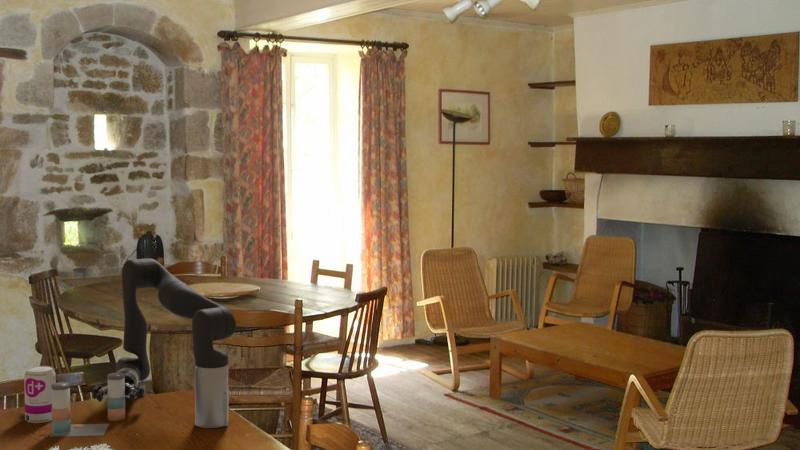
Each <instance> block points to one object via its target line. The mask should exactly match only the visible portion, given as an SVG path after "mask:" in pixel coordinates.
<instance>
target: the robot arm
mask: <svg viewBox="0 0 800 450" xmlns="http://www.w3.org/2000/svg"><path fill="white" fill-rule="evenodd" d="M121 287H122V288H121V289H122V290H121V291H122V300H123V302H122V303H123V311H124V329H123V343H122V347H123V350H124V351H126V352H127V353H129V354H133V355H135V356H136V357H127V356H126V357H121V358H119V359H118V360H117V362H116V364H115V373H124V374H125V399H129V402H133V401H134V400H136V398H138V397H139V398H144V397H145V394H146V384H145V383H140V381H142V382H143V381H145V380H147V379H148V378H149V376H150V372H151V366H150V362H149V357H148V353H147V338H148V337H147V336H148V323H147V320H146V318H145V316H144V314H143V312H142V310H141V308H140V306H139V304H138V301H137V290H138V289H148V288H149V289H150V288H152V289H153V288H154V289H156V290H158V291H157V292H158V293H157V296H158V297H157V298H158V301H159V303H160V304H161V306H162V307H164V308H165V309H166V310H167V311H169V312H171V313H172V314H174V315H175V316H177V317H180V318H185V319H189V320H192V322H191V330H192V331H191V333H192V351H193V352H192V353H193V357H194V424H195V426H196V427H199V428H202V429H217V428H221V427H228V425H229V396H230V395H229V394H230V393H229V391H230V389H229V356H228V354H227V353H226V352H225V351H221V350H217V349H215V348H214V343H213V342H215V341H222V340H226V339H229V338H230V337H232V336H233V335H234V334H235V332H236V330H237V322H236V319H235V316H234V314H233V313H232V312H231V310H230V309H228V308H227V307H226V306H224V305H222V304H219V303H218V302H215V301H213V300H210V299H209V298H207V297H206V296H204V295H202V294H201V293H200V292H199V291H197V290H195V289H194V288H192V287H191V286H190V285H188V284H187V283H185V282H184V281H182V280H180V279H179V278H177V277H176V276H175V275H174V274H172V273H171V272H169V271H168V269H166V267H164V266H163V265H162V264H161V263H160V262H159V261H158V260H156V259H154V258H149V257H148V258H133V259H132V258H131V259H127V260H126V261H125V262H124V264H123V265H122V269H121ZM139 383H140V384H139ZM105 398H106V399H108V384H107V385H105V386H102V383H101V384H100V383H99V384H96V385H95V386H94V387H93V389H92V399H96V401H98V402H99V403H100V402H102V401H103V400H104V399H105Z"/></svg>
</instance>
